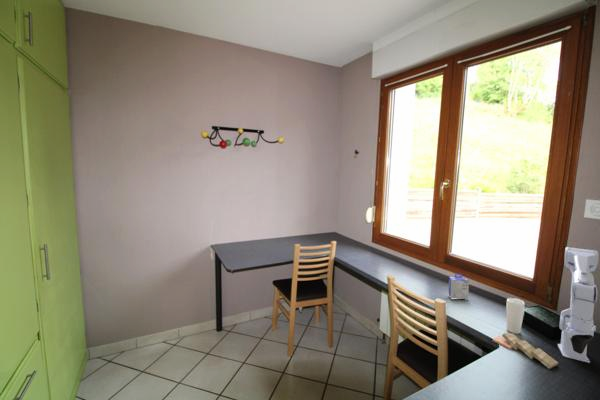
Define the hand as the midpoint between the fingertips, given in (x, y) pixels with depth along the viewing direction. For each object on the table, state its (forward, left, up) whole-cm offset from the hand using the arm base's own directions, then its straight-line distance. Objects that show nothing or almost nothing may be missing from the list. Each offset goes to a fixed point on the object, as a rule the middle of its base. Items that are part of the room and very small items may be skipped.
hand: (577, 352), depth 104 cm
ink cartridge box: (-52, -40, -10) cm, 66 cm away
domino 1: (-9, -15, -8) cm, 19 cm away
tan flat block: (-5, -11, -9) cm, 15 cm away
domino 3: (-2, -6, -9) cm, 11 cm away
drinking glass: (-25, -16, -10) cm, 31 cm away
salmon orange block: (-9, -18, -9) cm, 22 cm away
